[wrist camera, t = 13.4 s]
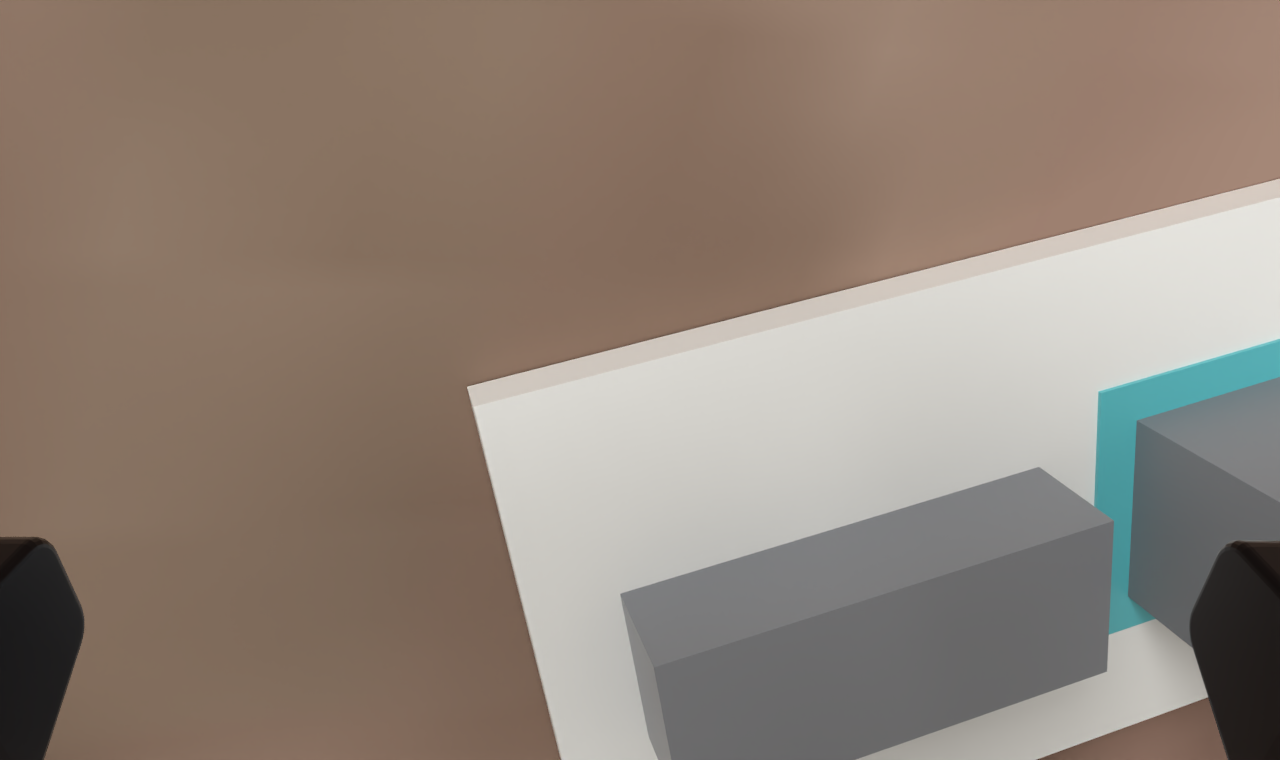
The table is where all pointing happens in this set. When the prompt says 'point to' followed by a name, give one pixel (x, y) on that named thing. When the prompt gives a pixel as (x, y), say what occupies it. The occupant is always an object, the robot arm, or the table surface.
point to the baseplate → (878, 502)
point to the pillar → (1201, 494)
